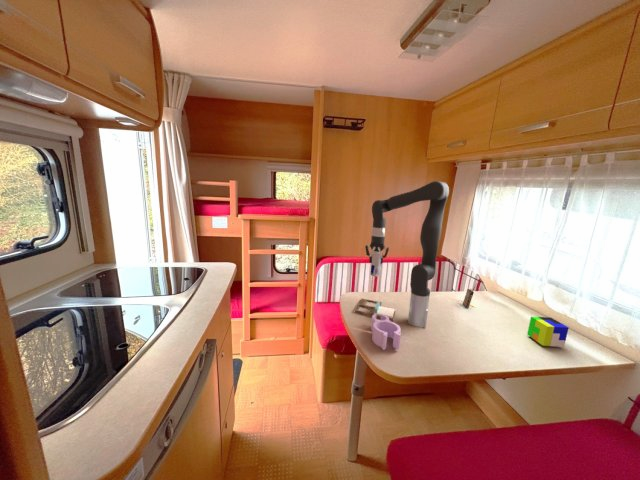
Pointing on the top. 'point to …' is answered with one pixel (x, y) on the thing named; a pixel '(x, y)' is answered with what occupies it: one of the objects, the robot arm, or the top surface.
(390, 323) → the clip
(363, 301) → the tan flat frame
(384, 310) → the slide cover
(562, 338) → the puzzle toy
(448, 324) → the top surface
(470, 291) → the walkie talkie
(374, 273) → the beverage can
